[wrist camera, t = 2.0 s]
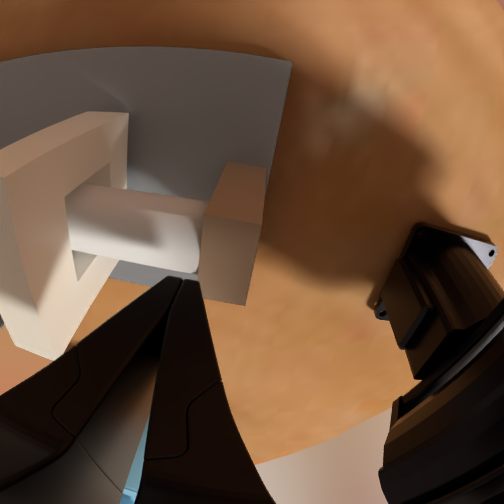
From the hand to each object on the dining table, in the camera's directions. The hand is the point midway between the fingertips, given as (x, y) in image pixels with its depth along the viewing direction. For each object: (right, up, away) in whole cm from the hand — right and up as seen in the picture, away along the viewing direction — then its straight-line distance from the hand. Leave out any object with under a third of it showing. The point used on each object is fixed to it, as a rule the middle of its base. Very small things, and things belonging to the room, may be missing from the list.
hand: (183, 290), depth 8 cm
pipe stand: (-8, +6, +6) cm, 12 cm away
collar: (-5, +4, +5) cm, 8 cm away
